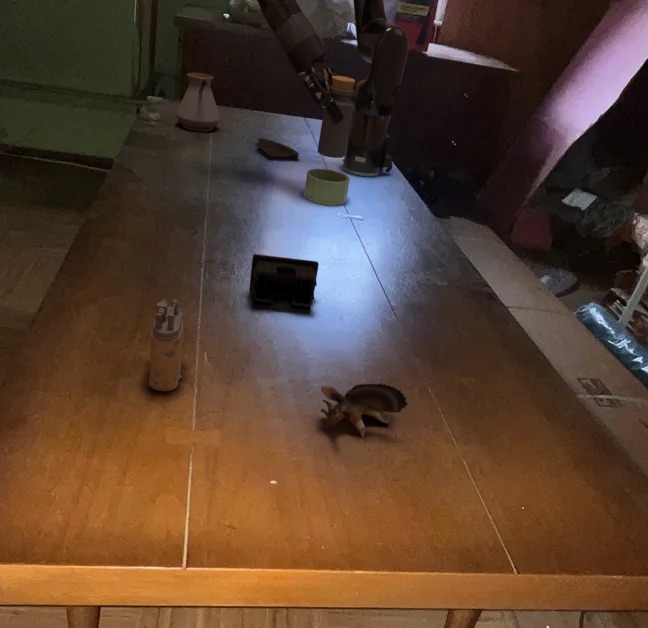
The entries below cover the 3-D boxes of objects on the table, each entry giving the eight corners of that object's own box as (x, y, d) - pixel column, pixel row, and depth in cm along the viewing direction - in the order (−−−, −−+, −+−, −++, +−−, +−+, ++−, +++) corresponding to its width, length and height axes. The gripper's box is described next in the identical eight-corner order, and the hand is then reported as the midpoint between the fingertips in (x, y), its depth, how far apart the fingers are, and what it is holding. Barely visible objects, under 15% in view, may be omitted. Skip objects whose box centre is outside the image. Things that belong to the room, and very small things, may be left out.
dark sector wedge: (280, 145, 190) (281, 138, 189) (299, 161, 180) (300, 154, 179) (250, 143, 187) (250, 137, 186) (268, 160, 177) (268, 153, 176)
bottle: (316, 148, 156) (327, 73, 148) (342, 151, 157) (355, 77, 149) (318, 156, 151) (331, 79, 143) (346, 159, 152) (360, 83, 144)
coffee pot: (174, 119, 196) (177, 59, 188) (217, 123, 199) (222, 64, 191) (177, 141, 179) (180, 76, 171) (224, 146, 182) (229, 82, 174)
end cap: (311, 294, 117) (317, 255, 114) (313, 314, 111) (320, 274, 108) (249, 287, 116) (253, 247, 112) (248, 307, 110) (253, 266, 106)
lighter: (155, 360, 94) (158, 290, 88) (185, 363, 94) (189, 293, 89) (146, 390, 88) (149, 317, 82) (178, 394, 88) (183, 321, 83)
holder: (335, 191, 164) (339, 169, 162) (352, 206, 157) (356, 183, 155) (297, 190, 161) (301, 167, 158) (313, 205, 154) (316, 182, 151)
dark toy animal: (351, 449, 82) (415, 422, 86) (333, 389, 81) (399, 364, 84) (322, 444, 89) (382, 419, 92) (305, 388, 88) (367, 365, 91)
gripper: (301, 34, 138) (348, 113, 142) (327, 29, 149) (370, 103, 153) (272, 58, 142) (319, 135, 146) (299, 52, 153) (342, 123, 157)
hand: (345, 118), depth 149 cm, fingers closed on bottle, 6 cm apart
